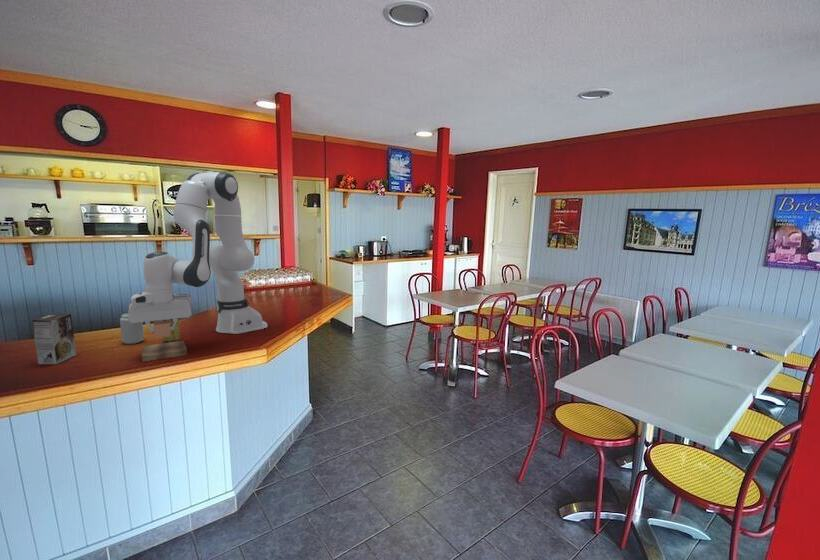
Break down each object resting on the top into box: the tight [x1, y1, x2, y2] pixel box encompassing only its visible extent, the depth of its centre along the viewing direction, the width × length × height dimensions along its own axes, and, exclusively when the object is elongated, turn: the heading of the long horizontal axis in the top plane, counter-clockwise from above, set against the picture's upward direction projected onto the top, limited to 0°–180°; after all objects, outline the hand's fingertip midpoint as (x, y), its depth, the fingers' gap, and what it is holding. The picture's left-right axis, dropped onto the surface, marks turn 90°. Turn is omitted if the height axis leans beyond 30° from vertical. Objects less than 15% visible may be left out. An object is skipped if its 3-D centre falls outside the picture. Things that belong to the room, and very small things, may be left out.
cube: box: [153, 320, 171, 339], centre depth 144 cm, size 5×5×5 cm
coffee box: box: [31, 312, 77, 365], centre depth 136 cm, size 9×6×16 cm
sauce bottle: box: [160, 318, 180, 343], centre depth 157 cm, size 7×6×20 cm
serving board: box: [141, 340, 188, 363], centre depth 146 cm, size 14×13×2 cm
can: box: [119, 313, 145, 345], centre depth 157 cm, size 8×8×12 cm
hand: (162, 331), depth 145 cm, fingers closed on cube, 5 cm apart
